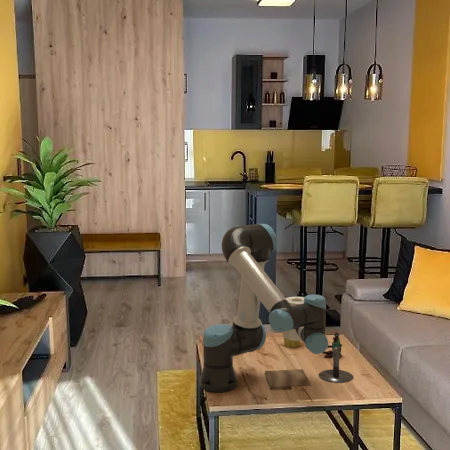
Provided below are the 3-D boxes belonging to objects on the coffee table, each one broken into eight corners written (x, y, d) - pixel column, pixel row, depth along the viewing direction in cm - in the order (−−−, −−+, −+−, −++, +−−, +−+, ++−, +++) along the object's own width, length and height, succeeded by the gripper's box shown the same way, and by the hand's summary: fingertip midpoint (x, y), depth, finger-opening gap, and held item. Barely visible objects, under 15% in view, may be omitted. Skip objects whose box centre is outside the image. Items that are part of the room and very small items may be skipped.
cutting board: (270, 389, 229) (270, 386, 229) (264, 373, 245) (264, 370, 244) (311, 387, 230) (311, 384, 230) (302, 372, 246) (302, 369, 246)
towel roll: (286, 341, 229) (287, 304, 227) (281, 332, 239) (282, 297, 237) (311, 340, 230) (312, 303, 228) (305, 331, 240) (306, 296, 238)
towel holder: (323, 386, 232) (323, 354, 230) (315, 372, 245) (315, 342, 243) (358, 384, 233) (358, 353, 231) (347, 371, 246) (348, 341, 245)
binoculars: (320, 332, 267) (342, 332, 263) (322, 354, 268) (344, 354, 264) (317, 338, 258) (339, 338, 255) (319, 361, 259) (342, 361, 256)
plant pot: (307, 344, 279) (307, 324, 278) (294, 350, 271) (295, 330, 270) (289, 339, 286) (289, 320, 284) (276, 345, 278) (276, 325, 277)
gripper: (277, 341, 215) (266, 322, 237) (337, 339, 217) (321, 320, 239) (277, 321, 214) (266, 304, 236) (337, 319, 216) (321, 302, 238)
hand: (294, 312), depth 237 cm, fingers closed on towel roll, 10 cm apart
